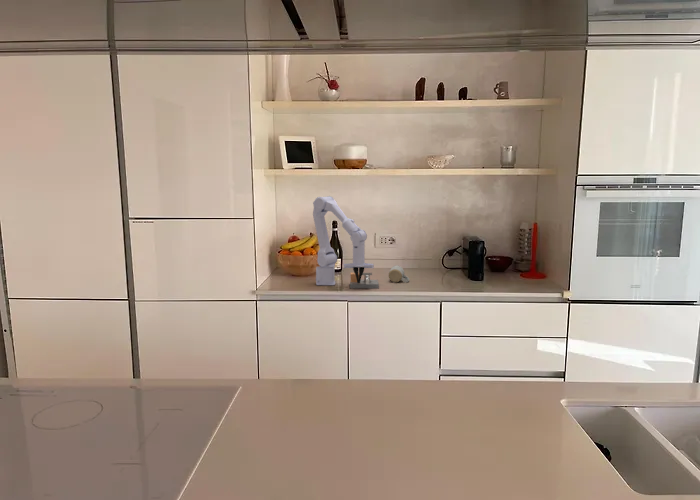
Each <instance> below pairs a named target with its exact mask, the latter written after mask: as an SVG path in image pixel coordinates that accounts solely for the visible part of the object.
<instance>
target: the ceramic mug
mask: <svg viewBox="0 0 700 500" xmlns="http://www.w3.org/2000/svg"><path fill="white" fill-rule="evenodd" d="M388 279H389V280H390V281H391V283H398V282H400V281H403V282H405V283H408V282H409V281H410V278H409V276H407V275H405V270H404V268H403V267H402V266H401V265H393V266H392V267H391V268H390V270H389V271H388Z"/></svg>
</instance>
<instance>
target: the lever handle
mask: <svg viewBox="0 0 700 500" xmlns="http://www.w3.org/2000/svg"><path fill="white" fill-rule="evenodd" d="M362 276H363V277H364V279H363V280H364V281H365V282H366V284H369V281H370V280H371V276H373V272H363V274H362Z"/></svg>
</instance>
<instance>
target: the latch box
mask: <svg viewBox="0 0 700 500" xmlns="http://www.w3.org/2000/svg"><path fill="white" fill-rule="evenodd" d="M379 288H380V285H379V280H378V279H370V281H369V284H366V282H365V281H364V279H361V280H360V283H357V282H351V279H350V280H349V289H379Z"/></svg>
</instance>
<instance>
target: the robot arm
mask: <svg viewBox="0 0 700 500" xmlns="http://www.w3.org/2000/svg"><path fill="white" fill-rule="evenodd" d="M312 204H313V211H312V216H313V222H314V228H315V231H316V236H317V241H318V246H319V249H318V251H317V258H316V259H317V260H316V262H317V265H319V266H316V267H315V282H316V284H315V285H316V286H335V285H336V283H337V282H336V280H335V279H336V277H335V267H336V264H337V262H338V256H337V254H336V253H335V249H334V248H333V247H331V243H330V237H329V232H328V228H327V222H326V217H325V216H326V215H327V213H328V212H331V213H332V214H333V215H334V216H335V217H336V218H337V219H338V220H339V221H340V222H341V223H342V224H341V227H342V228H343V229H344V230H345V232H346V233H347V234H348V235H349V236H350V240H351V242H352V262H351V263H343V269H352V270H353V273H355V275H356V278H357V283H360V280H362V276H363V275H362V274H363V273H365V272H364V271H365V269H374V268H375V267H374V266H375V264H374V263H366V262H365V260H366V258H365V254H366V252H365V251H366V249H365V247H366V245H365V243H366V242H365V241H366V240H367V238H368V235H367V232H366V230H365V229H361V227H360V226H358V225H357V224H356V222H355V219H352V218H348V216H347V215H346V214H345V212H344V211H343V210H342V209H341V207H340V206H339V205H338V203H337V201H336V200H335V198H334V197H333V196H330V195H329V196H317V197H315V199H314V201H313V202H312ZM358 273H359V278H358Z"/></svg>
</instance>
